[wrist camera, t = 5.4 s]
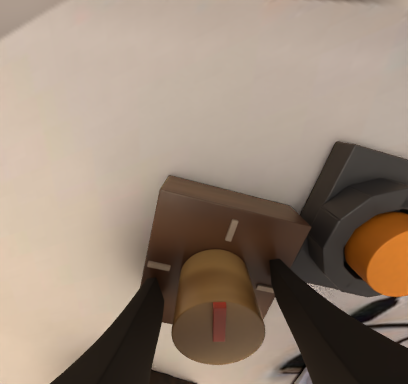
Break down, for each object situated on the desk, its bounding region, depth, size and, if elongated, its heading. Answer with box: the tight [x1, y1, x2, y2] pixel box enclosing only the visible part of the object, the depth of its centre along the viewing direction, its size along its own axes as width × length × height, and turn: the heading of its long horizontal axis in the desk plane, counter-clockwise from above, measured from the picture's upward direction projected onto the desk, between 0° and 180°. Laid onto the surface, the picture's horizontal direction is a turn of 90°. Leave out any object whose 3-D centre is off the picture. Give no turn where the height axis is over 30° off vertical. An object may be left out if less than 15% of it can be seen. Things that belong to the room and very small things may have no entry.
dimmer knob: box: [172, 249, 265, 365], centre depth 10 cm, size 4×4×4 cm
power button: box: [344, 212, 408, 297], centre depth 11 cm, size 4×4×2 cm
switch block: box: [290, 142, 408, 297], centre depth 13 cm, size 10×7×4 cm
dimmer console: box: [140, 175, 311, 324], centre depth 14 cm, size 10×9×3 cm
